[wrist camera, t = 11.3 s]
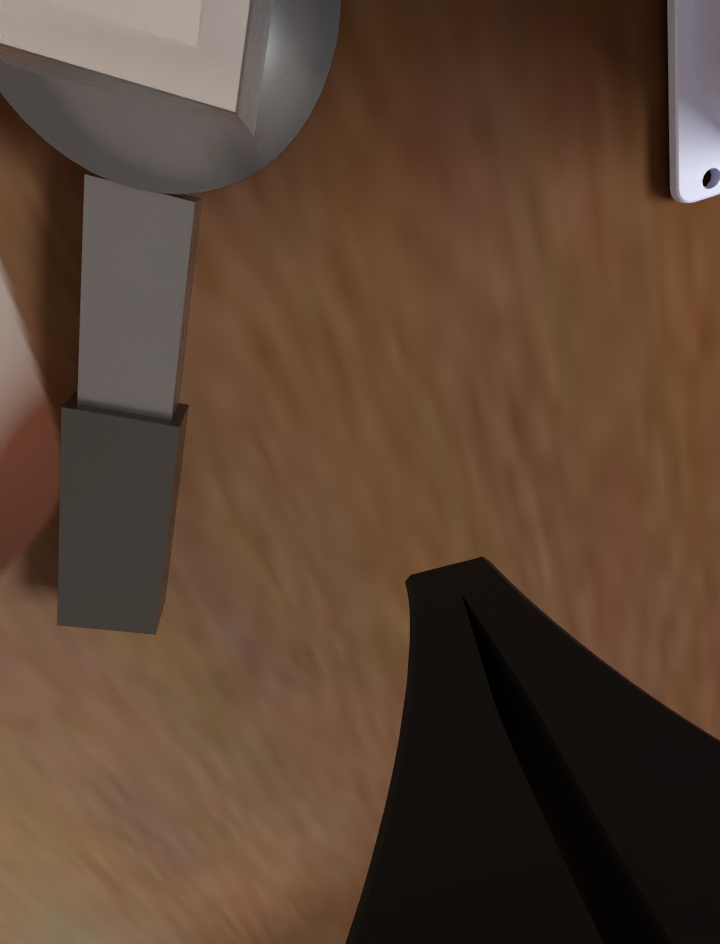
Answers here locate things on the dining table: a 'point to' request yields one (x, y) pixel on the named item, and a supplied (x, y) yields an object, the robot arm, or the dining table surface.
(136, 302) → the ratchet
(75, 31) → the white boxy piece
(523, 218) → the dining table surface
